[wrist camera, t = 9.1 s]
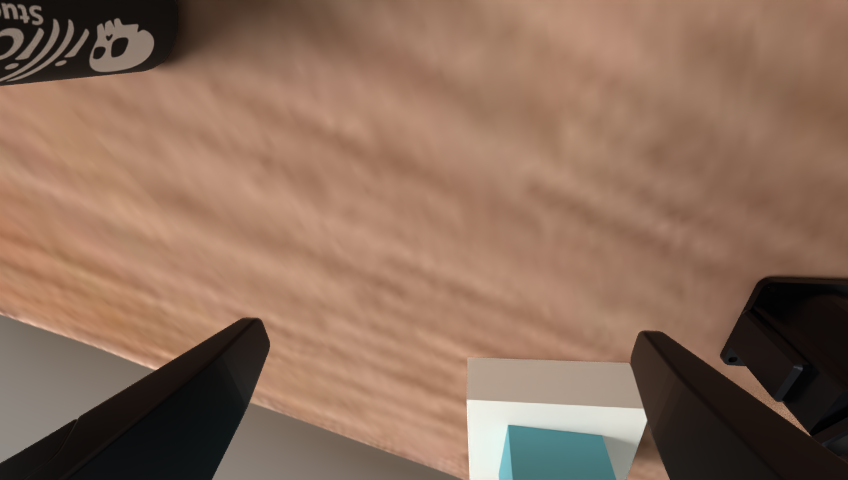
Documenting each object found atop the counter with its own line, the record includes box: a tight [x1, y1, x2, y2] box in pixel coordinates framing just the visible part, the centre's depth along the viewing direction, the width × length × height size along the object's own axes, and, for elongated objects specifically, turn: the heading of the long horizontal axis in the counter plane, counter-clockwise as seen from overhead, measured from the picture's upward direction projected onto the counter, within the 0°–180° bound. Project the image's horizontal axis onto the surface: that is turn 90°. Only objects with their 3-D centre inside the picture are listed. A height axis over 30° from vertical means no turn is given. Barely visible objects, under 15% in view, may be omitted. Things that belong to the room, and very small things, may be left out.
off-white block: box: [467, 357, 647, 480], centre depth 26 cm, size 11×11×4 cm
